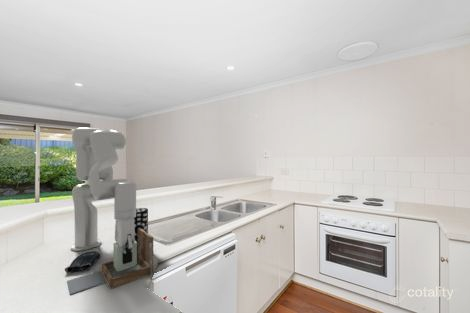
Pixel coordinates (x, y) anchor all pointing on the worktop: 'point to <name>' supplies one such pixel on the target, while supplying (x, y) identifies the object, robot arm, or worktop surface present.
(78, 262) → the dark blue pouch
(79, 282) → the mat
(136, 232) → the white-spotted black cylinder
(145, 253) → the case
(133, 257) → the module
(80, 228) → the robot arm
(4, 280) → the worktop surface
